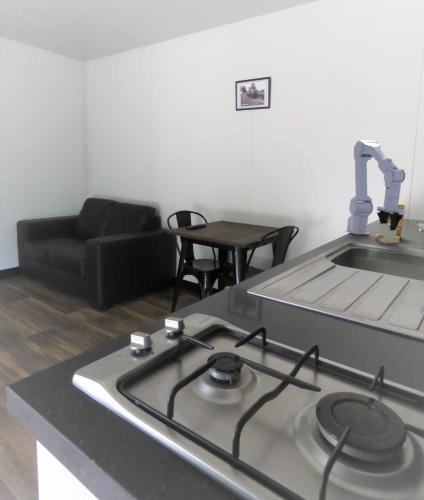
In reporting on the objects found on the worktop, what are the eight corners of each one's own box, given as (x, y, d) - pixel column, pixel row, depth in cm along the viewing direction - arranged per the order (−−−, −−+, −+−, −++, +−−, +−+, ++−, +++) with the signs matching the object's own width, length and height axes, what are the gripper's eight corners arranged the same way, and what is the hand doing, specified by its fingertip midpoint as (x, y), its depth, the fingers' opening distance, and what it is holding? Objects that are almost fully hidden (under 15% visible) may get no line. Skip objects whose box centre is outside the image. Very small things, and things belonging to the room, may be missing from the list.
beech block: (374, 241, 168) (375, 234, 167) (387, 240, 169) (388, 234, 169) (384, 244, 161) (385, 237, 161) (398, 243, 163) (399, 236, 162)
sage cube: (378, 234, 166) (379, 223, 165) (387, 234, 168) (388, 223, 167) (386, 236, 162) (387, 225, 161) (395, 236, 163) (397, 225, 162)
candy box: (388, 238, 173) (393, 205, 170) (381, 237, 177) (384, 204, 174) (401, 237, 177) (405, 204, 174) (393, 235, 181) (397, 203, 178)
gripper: (372, 196, 167) (369, 226, 170) (396, 199, 153) (392, 232, 156) (386, 196, 169) (382, 226, 172) (410, 199, 155) (406, 231, 158)
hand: (388, 229), depth 164 cm, fingers open, 5 cm apart
